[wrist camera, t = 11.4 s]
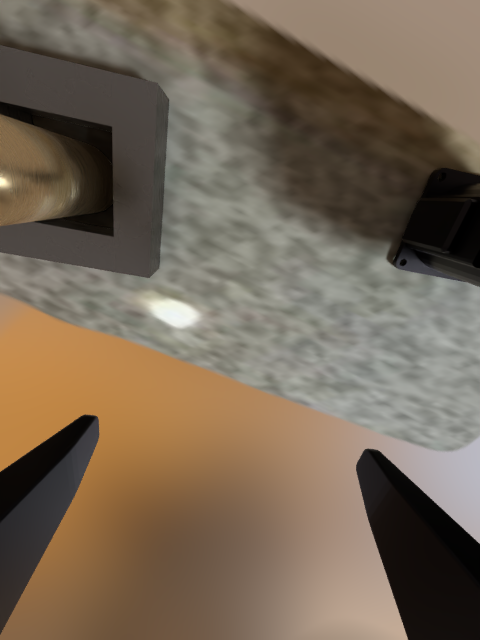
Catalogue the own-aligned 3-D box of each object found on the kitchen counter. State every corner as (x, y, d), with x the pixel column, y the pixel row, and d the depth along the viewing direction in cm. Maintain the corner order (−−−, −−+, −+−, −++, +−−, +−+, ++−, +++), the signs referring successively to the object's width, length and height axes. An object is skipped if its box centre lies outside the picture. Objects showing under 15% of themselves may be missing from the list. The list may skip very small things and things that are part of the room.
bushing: (117, 150, 16) (-2, 106, 8) (118, 218, 18) (20, 239, 10) (48, 134, 16) (-150, 72, 8) (56, 206, 17) (-101, 217, 9)
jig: (169, 99, 15) (157, 83, 13) (159, 268, 19) (149, 277, 17) (-18, 55, 14) (-65, 29, 12) (14, 242, 18) (-17, 249, 16)
